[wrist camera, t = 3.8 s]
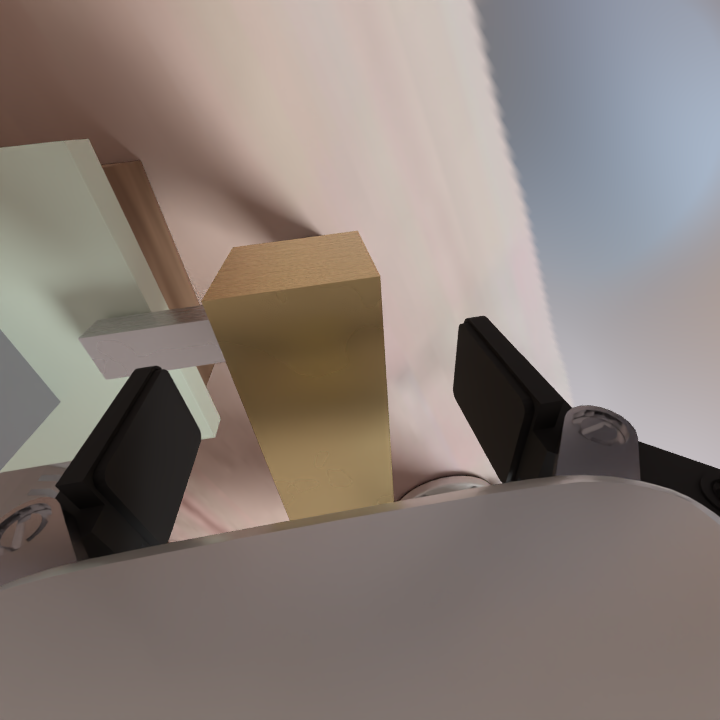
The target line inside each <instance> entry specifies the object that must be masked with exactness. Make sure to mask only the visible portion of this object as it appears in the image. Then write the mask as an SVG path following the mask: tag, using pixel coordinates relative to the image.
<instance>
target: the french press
mask: <svg viewBox="0 0 720 720" xmlns="http://www.w3.org/2000/svg"><path fill="white" fill-rule="evenodd" d="M71 462H72V461H68V462H62V463H56V464H50V465H44V466H37V467H31V468H25V469H19V470H13V471H7V472H1V473H0V518H1V517H2V516H3V515H5V514H6V513H8V512H9V511H11V510H12V509H14V508H16V507H17V506H19V505H21V504H23V503H26V502H28V501H30V500H34V499H37V498H41V497H51V498H55V497H56V496H57V494H58V493H59V491H60V490H59V489H58V488H56V487H55V485H56V483H57V482H58V481H59V479H60V478H61V476H62V475H63V473H64V472H65V470H66V469H67V467H68V466H69V465H70V463H71Z"/></svg>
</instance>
